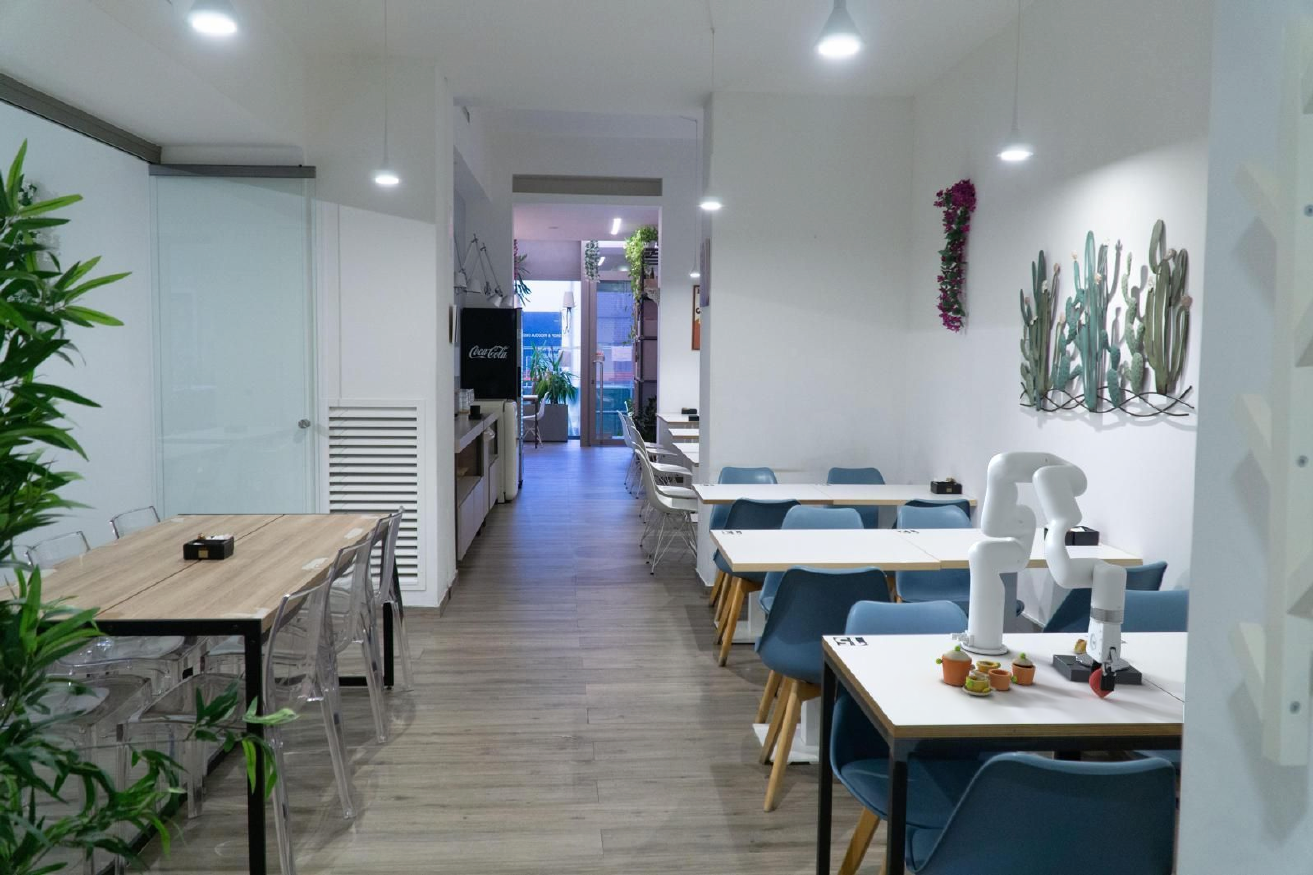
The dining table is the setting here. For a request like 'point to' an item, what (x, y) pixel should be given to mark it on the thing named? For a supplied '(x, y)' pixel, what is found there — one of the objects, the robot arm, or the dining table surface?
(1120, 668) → the scale pan
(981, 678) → the toy tea set
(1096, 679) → the onion
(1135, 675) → the scale
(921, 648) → the dining table surface
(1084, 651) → the pastry
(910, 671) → the dining table surface
